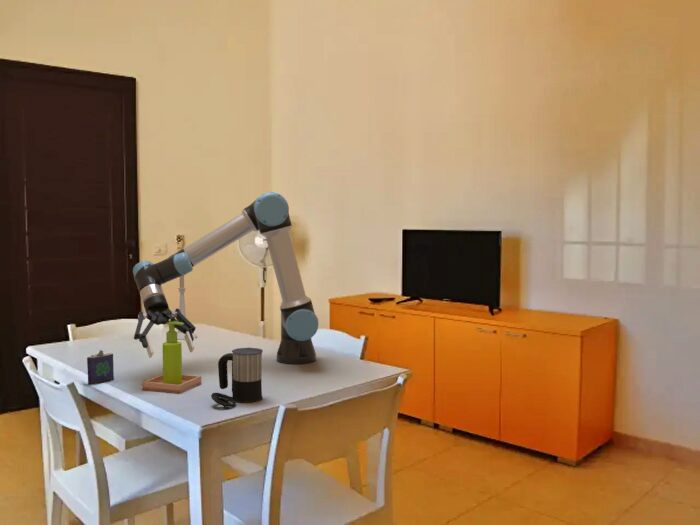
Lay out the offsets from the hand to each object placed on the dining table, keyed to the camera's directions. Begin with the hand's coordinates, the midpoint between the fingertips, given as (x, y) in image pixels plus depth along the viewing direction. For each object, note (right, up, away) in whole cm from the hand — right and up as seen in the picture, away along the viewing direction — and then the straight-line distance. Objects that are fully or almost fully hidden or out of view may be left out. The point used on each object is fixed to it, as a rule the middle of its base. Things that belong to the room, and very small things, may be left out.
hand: (172, 352), depth 207 cm
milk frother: (+24, -13, -16) cm, 31 cm away
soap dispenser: (0, -10, +1) cm, 10 cm away
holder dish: (0, -11, +1) cm, 11 cm away
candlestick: (-19, -6, +87) cm, 89 cm away
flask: (-26, -11, +7) cm, 29 cm away
